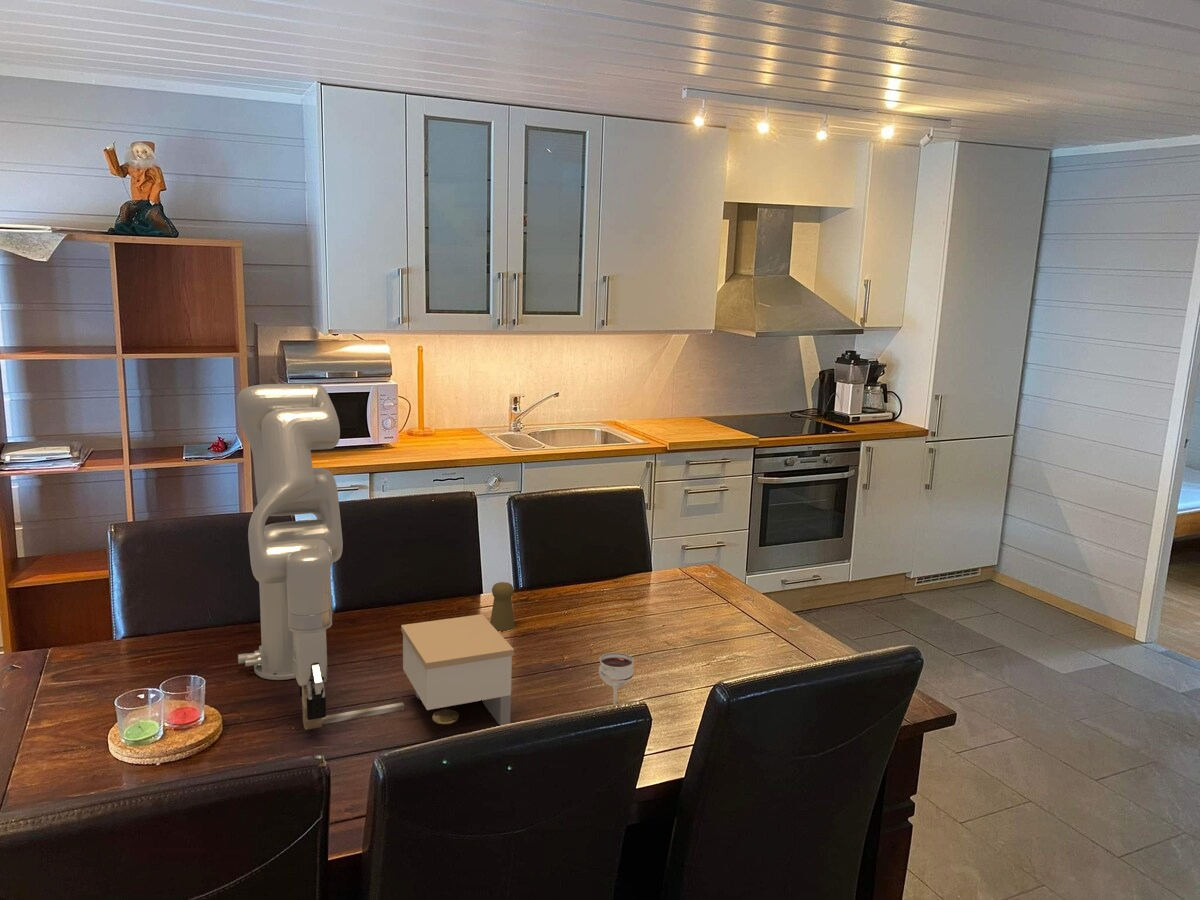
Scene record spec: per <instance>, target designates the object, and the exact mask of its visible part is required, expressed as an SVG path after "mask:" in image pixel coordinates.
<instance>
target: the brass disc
mask: <svg viewBox="0 0 1200 900" xmlns="http://www.w3.org/2000/svg"><path fill="white" fill-rule="evenodd" d="M431 716H432V721H433V722H434V723H435V724H439V725H451V724H454V723H456V722H457V721H458V720H459V719H460V713H459V712H458V711H457V710H453V709H448V708H446V709H445V708H444V709H439V710H437V711H435V712H434V713H433V714H432V715H431Z"/></svg>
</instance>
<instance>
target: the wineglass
mask: <svg viewBox="0 0 1200 900" xmlns="http://www.w3.org/2000/svg"><path fill="white" fill-rule="evenodd" d="M599 663H600V664H599V667H598V673H599V678H600V679H601V680H602V681H603V682H604V683H605V684H606V685H608V686H610V687H611V688H612V689H613V692H612V693H613V696H612V697H613V699H612V702H613V704H616V705H617V699H618V689H619V688H620V687H624V686H625V685H627V684H628V683H629V682H630V681H632V678H633V676H634V673H635V669H634V666H633V664H634V663H635V659H634V658H633V657H632V656H630V655H629V654H627V653H622V652H608V653H604V654H602V655H600V657H599Z"/></svg>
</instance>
